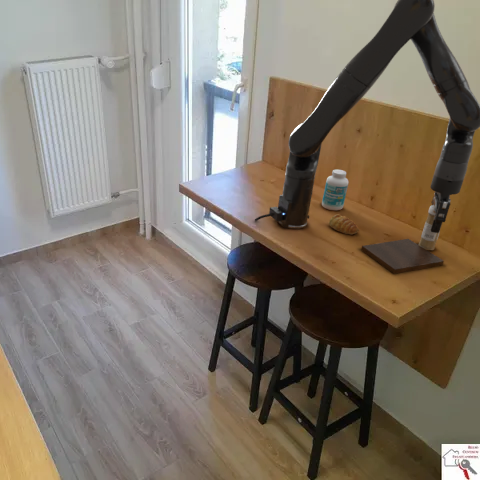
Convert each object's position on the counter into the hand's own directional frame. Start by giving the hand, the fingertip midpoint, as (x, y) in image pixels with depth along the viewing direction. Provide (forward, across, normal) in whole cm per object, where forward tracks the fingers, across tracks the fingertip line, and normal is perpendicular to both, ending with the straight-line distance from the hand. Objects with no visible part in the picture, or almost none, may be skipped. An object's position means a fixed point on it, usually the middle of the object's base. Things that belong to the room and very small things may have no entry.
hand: (433, 226), depth 141 cm
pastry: (+7, -3, -25) cm, 26 cm away
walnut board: (+7, +10, -8) cm, 14 cm away
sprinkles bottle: (+8, 0, 0) cm, 8 cm away
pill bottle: (+7, -20, -30) cm, 36 cm away
